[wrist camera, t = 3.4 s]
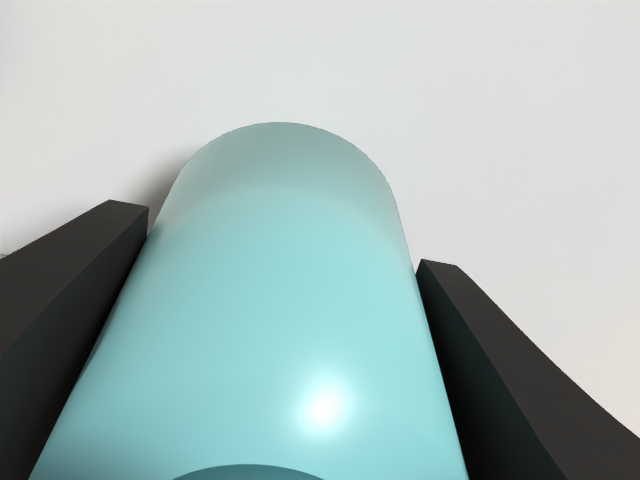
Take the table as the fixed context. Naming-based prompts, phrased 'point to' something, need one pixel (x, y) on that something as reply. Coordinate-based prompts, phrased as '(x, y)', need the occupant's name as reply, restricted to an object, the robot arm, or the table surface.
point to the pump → (264, 331)
